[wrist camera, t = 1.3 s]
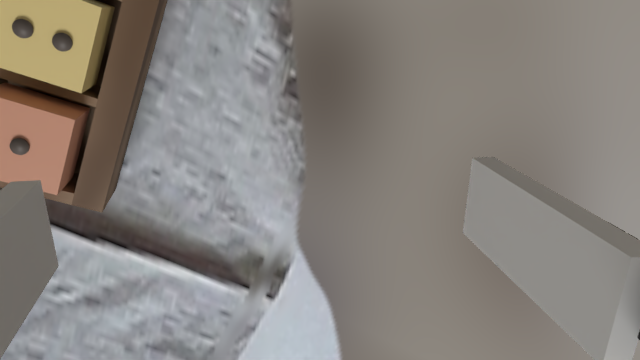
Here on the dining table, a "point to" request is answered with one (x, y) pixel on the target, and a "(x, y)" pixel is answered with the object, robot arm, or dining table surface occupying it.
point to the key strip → (106, 101)
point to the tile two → (55, 40)
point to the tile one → (39, 137)
